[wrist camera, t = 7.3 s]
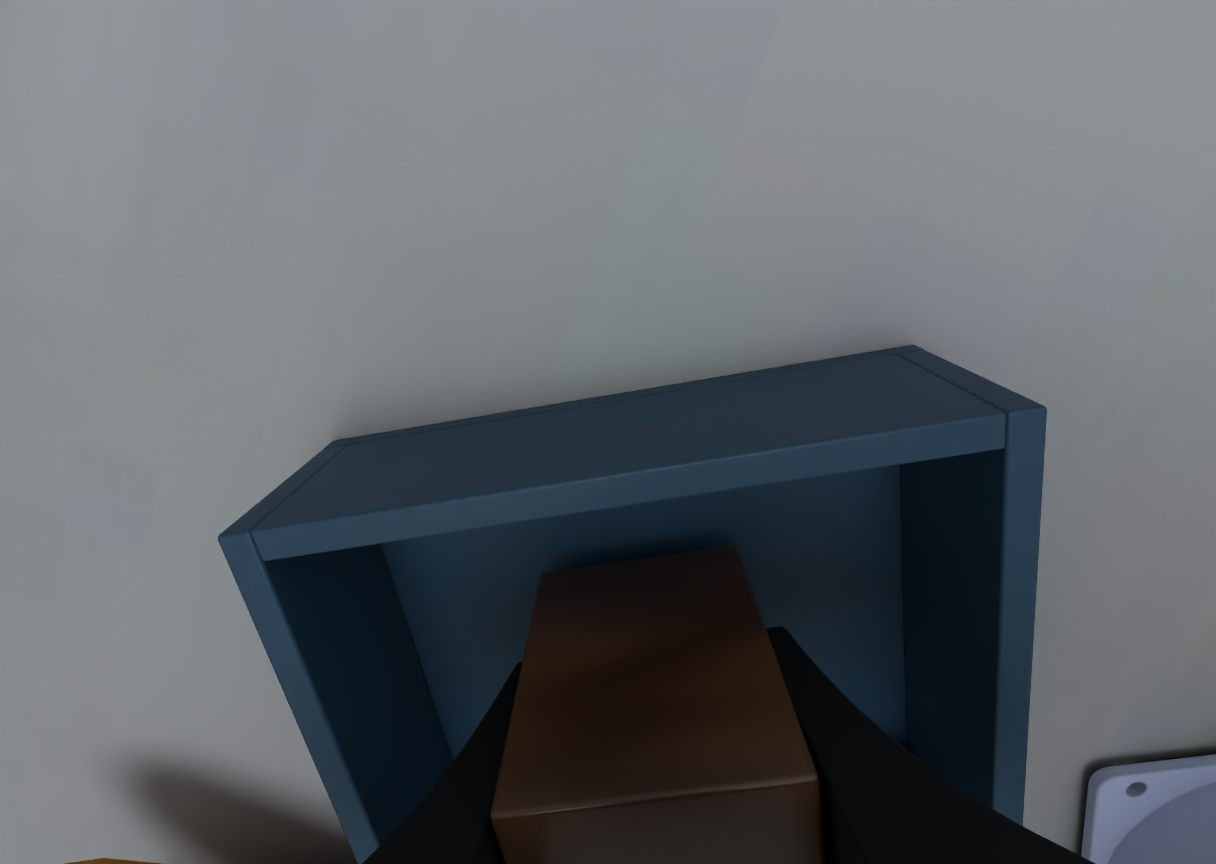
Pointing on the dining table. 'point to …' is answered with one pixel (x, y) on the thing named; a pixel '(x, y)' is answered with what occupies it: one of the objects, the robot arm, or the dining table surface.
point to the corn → (110, 862)
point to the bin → (654, 526)
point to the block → (654, 724)
